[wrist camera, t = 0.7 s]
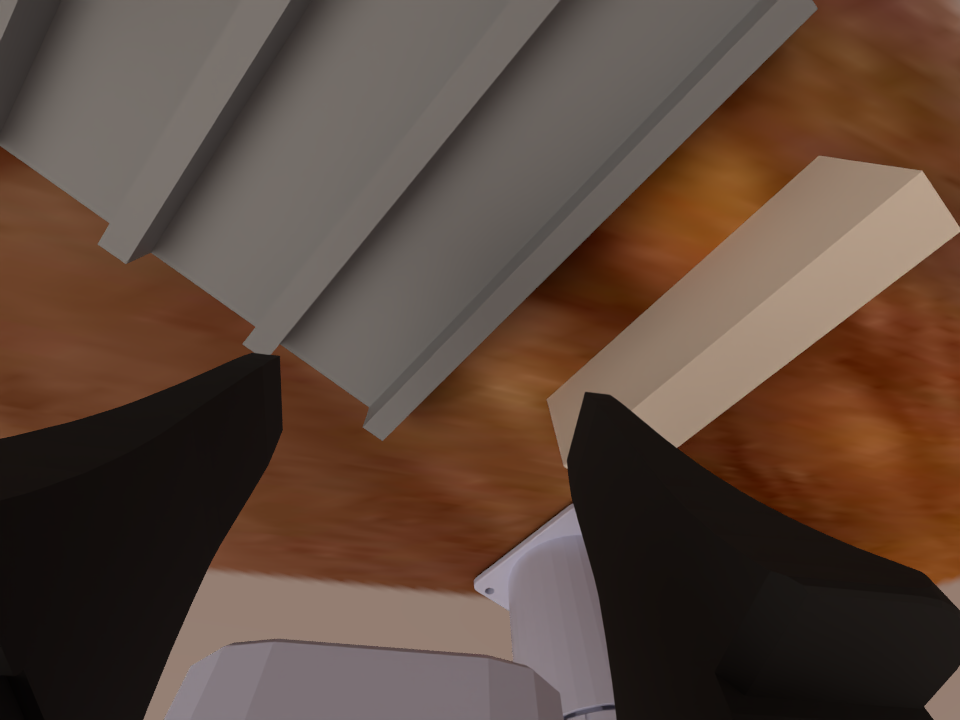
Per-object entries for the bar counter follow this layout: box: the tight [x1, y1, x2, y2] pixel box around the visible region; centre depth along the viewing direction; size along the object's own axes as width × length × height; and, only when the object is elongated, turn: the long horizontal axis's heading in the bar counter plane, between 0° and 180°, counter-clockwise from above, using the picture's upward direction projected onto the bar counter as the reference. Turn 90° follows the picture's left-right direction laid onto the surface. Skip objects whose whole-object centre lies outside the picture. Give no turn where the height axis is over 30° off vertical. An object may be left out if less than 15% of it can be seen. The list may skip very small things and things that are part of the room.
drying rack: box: [0, 0, 818, 441], centre depth 16 cm, size 18×20×3 cm
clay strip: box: [547, 156, 960, 469], centre depth 19 cm, size 14×2×5 cm, turn 138°
